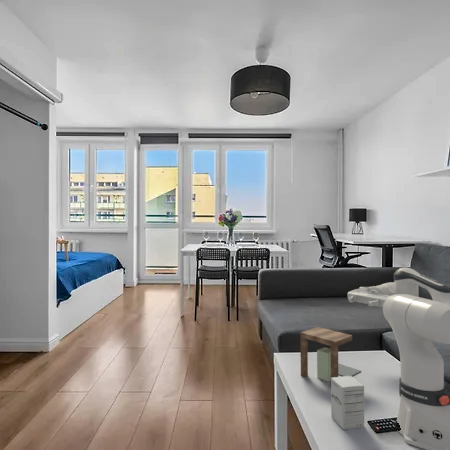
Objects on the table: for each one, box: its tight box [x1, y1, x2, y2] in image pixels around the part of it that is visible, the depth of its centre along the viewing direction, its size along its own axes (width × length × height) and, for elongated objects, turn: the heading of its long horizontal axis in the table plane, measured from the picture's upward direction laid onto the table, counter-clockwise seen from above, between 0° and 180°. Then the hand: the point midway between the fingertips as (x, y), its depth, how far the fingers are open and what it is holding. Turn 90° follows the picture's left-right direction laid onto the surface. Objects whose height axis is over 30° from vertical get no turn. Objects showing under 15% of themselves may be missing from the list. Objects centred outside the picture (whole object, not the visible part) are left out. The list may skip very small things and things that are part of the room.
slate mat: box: [338, 362, 362, 377], centre depth 148 cm, size 12×10×1 cm
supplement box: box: [330, 376, 365, 430], centre depth 109 cm, size 7×7×13 cm
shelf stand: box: [299, 326, 353, 378], centre depth 141 cm, size 16×12×18 cm
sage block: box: [316, 346, 331, 382], centre depth 141 cm, size 5×5×11 cm
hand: (359, 302), depth 153 cm, fingers open, 8 cm apart
